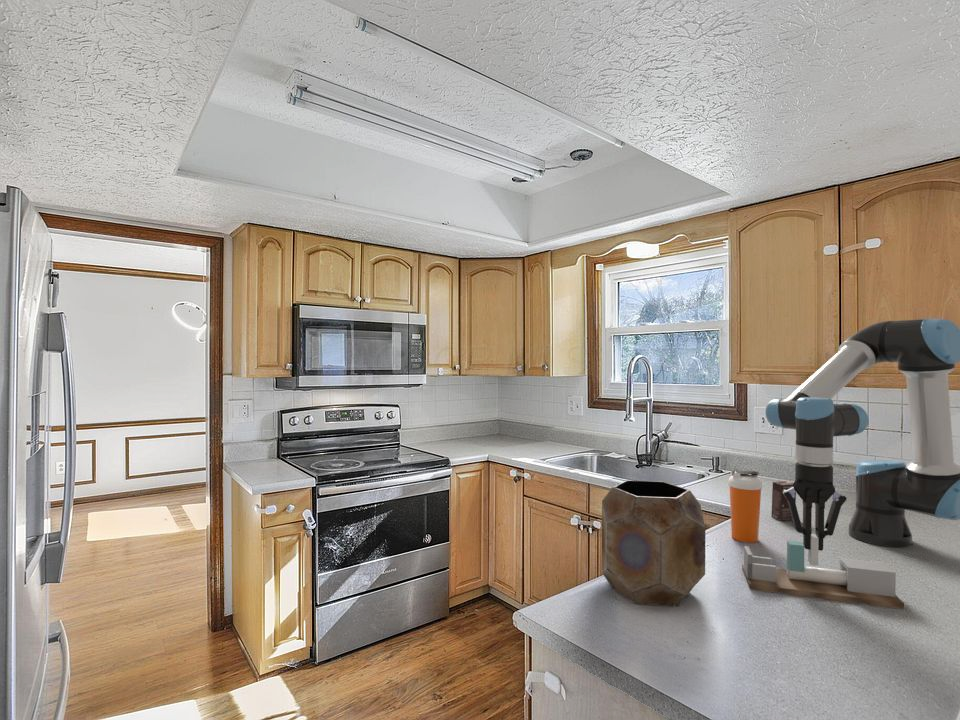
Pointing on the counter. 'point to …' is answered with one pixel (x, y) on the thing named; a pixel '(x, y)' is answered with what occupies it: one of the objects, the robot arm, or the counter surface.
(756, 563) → the socket
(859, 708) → the counter surface
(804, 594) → the board
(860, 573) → the sleeve
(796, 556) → the bolt
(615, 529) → the planter
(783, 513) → the box
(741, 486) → the shaker bottle
